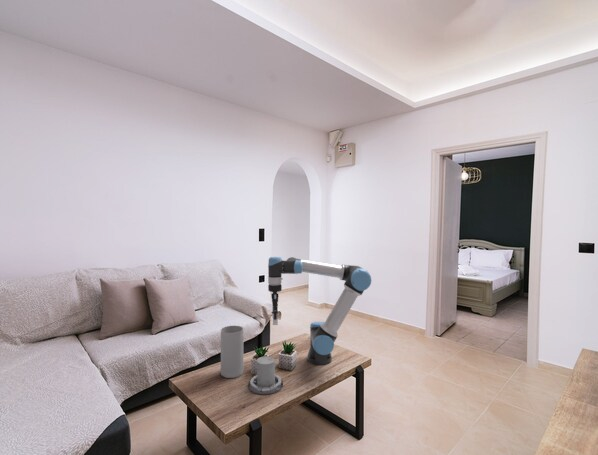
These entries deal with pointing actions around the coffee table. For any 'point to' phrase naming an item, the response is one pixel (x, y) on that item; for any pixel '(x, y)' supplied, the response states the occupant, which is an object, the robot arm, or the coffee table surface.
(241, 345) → the cylinder vase
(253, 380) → the round grey metal tray
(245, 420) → the coffee table surface
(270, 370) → the beer can
